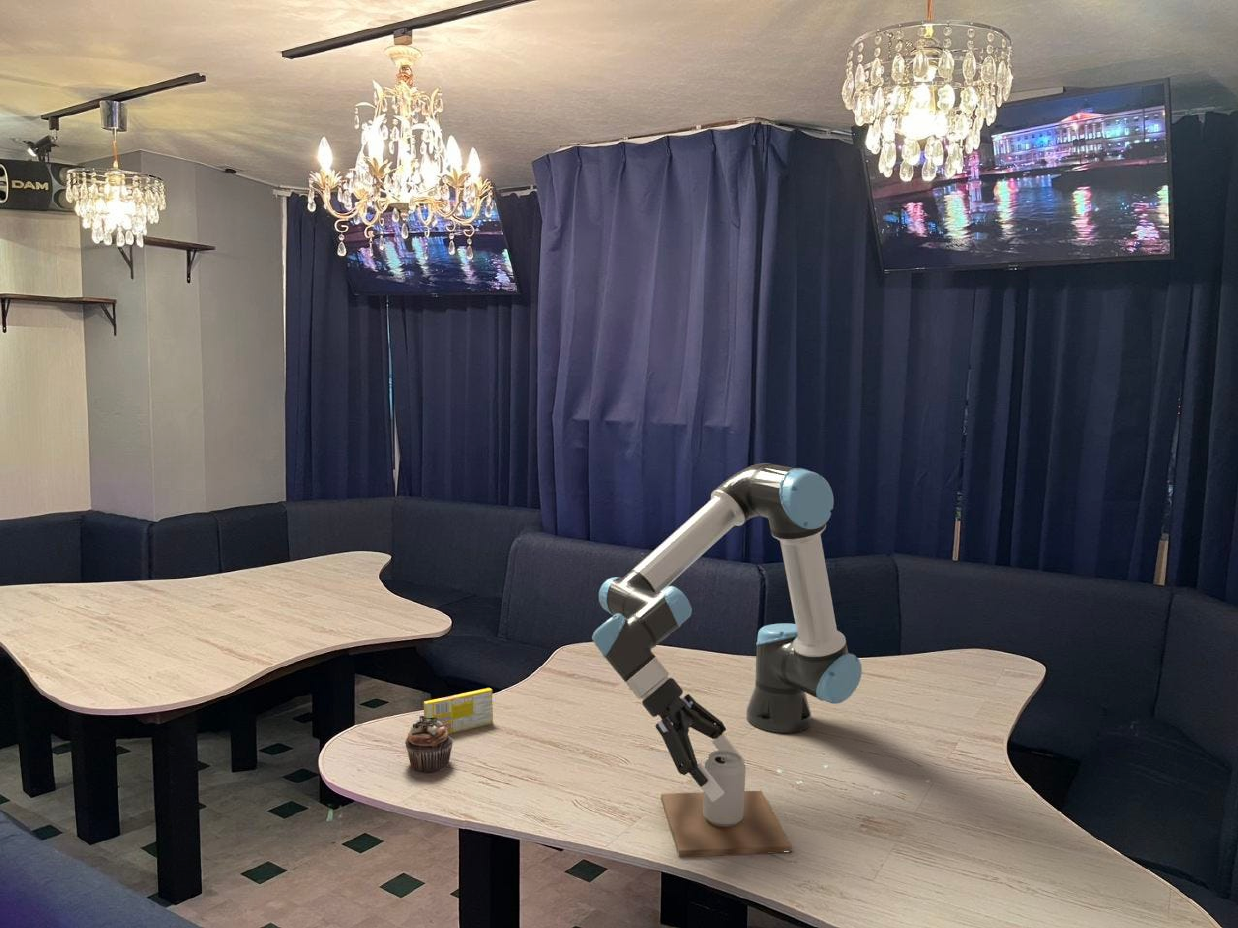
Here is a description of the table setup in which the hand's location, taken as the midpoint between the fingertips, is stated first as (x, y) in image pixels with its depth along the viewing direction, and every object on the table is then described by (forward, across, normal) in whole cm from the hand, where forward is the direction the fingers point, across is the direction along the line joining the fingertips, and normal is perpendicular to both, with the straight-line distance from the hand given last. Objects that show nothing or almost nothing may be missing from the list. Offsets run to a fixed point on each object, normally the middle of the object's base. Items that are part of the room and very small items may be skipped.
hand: (729, 780), depth 166 cm
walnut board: (+6, 0, -7) cm, 9 cm away
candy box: (-41, -14, -54) cm, 70 cm away
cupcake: (-38, +3, -51) cm, 64 cm away
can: (+5, 0, -6) cm, 8 cm away
